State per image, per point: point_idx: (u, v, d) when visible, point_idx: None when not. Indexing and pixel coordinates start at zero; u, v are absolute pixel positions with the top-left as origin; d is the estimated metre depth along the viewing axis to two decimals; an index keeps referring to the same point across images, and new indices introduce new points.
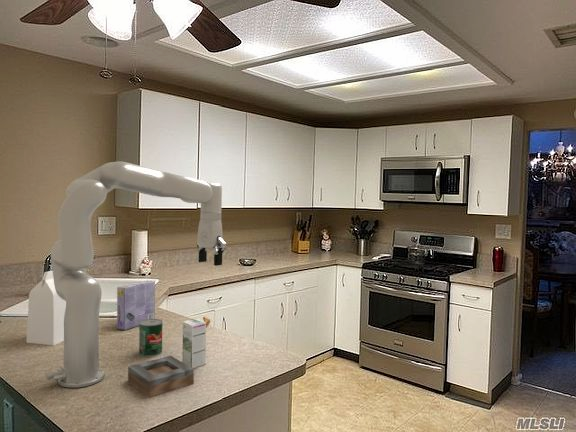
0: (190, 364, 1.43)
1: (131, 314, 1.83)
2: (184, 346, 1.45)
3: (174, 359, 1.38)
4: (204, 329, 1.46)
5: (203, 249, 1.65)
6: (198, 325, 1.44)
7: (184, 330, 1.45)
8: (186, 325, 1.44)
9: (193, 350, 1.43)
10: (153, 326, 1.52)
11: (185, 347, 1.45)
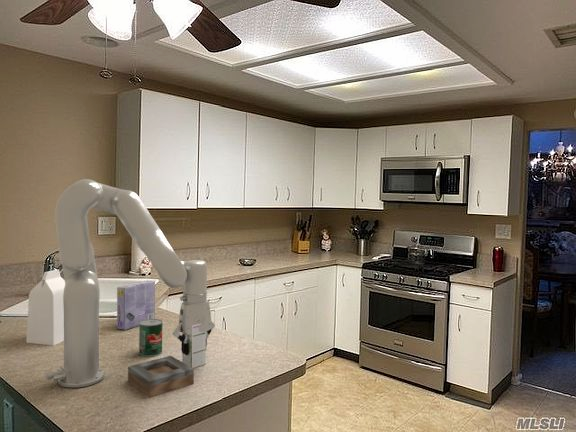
0: (190, 364, 1.43)
1: (131, 314, 1.83)
2: None
3: (174, 359, 1.38)
4: None
5: None
6: (198, 325, 1.44)
7: None
8: None
9: (193, 350, 1.43)
10: (153, 326, 1.52)
11: None
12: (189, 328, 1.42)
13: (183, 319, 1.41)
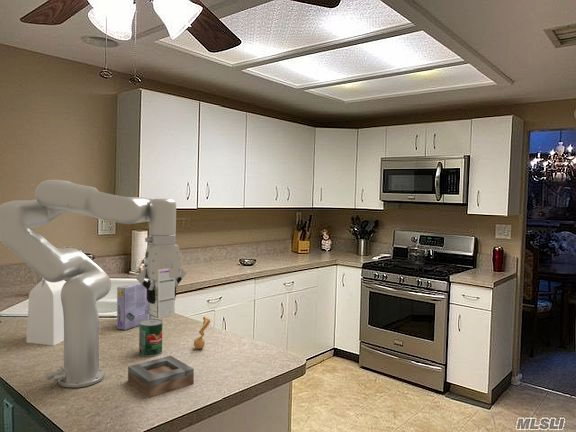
0: (156, 314, 1.28)
1: (131, 314, 1.83)
2: None
3: (174, 359, 1.38)
4: None
5: None
6: (165, 271, 1.28)
7: None
8: None
9: (160, 298, 1.27)
10: (153, 326, 1.52)
11: None
12: (155, 273, 1.26)
13: (148, 262, 1.26)
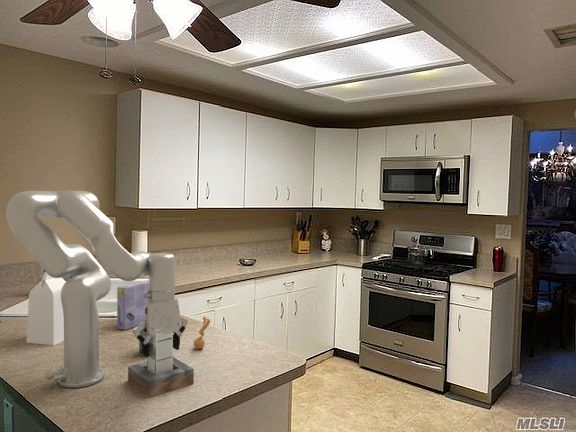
0: (154, 373, 1.28)
1: (131, 314, 1.83)
2: None
3: (174, 359, 1.38)
4: (171, 334, 1.31)
5: None
6: None
7: None
8: None
9: (158, 357, 1.28)
10: None
11: (150, 354, 1.30)
12: (154, 329, 1.27)
13: (147, 319, 1.27)
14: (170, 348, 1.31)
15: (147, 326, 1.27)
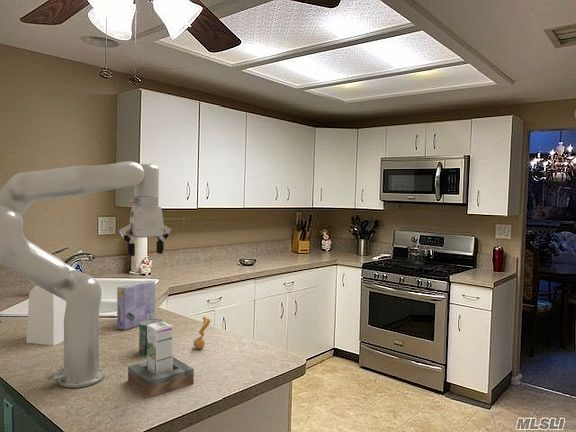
0: (154, 373, 1.28)
1: (131, 314, 1.83)
2: (148, 352, 1.30)
3: (174, 359, 1.38)
4: (171, 334, 1.31)
5: None
6: (163, 330, 1.29)
7: (149, 334, 1.30)
8: (150, 329, 1.29)
9: (158, 357, 1.28)
10: None
11: (150, 354, 1.30)
12: (139, 230, 1.40)
13: (133, 221, 1.40)
14: (170, 348, 1.31)
15: (133, 227, 1.40)
